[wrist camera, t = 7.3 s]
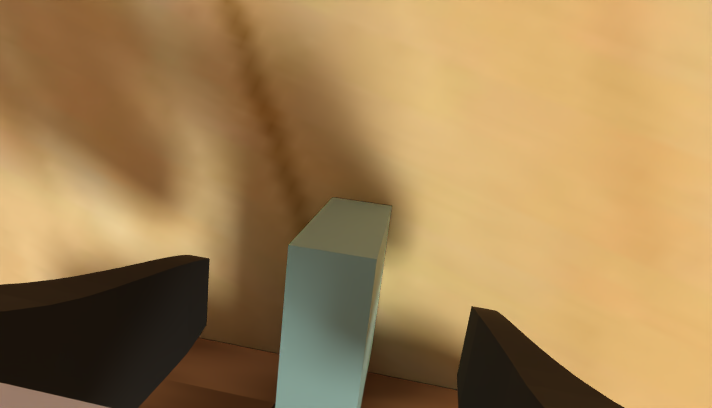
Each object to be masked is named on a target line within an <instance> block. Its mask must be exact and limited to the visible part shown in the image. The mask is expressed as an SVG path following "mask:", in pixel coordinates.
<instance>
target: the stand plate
mask: <svg viewBox="0 0 712 408" xmlns="http://www.w3.org/2000/svg"><path fill="white" fill-rule="evenodd" d="M279 355H280V354H276V353H271V352H266V351H261V350H256V349H251V348H246V347H241V346H236V345H231V344H226V343H221V342H216V341H211V340H207V339H202V338H198V339H197V340H196V342H195V343H194V345H193V346H192V347H191V349H190V350H189V352H188V353H187V354H186V355H185V357H184V358H183V359H182V360H181V361H180V362H179V363H178V365H177V366H176V367H175V368H174V369H173V370H172V371H171V372H170V373H169V375H168V376H167V377H166V378H165V379H164V380H163V381H162V382H161V383H160V384H159V386H158V387H157V388H156V389H155V390H154V391H153V392H152V393H151V394H150V395H149V396H148V398H147V399H146V400H145V401H144V402H143V403H142V404H141V405H140V406H139V407H138V408H275V405H276V393H277V380H278V368H279ZM361 408H458V390H453V389H448V388H443V387H438V386H433V385H428V384H423V383H419V382H414V381H409V380H404V379H399V378H394V377H389V376H384V375H379V374H374V373H369V372H367V377H366V382H365V387H364V392H363V397H362V404H361Z"/></svg>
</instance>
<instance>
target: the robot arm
mask: <svg viewBox="0 0 712 408" xmlns="http://www.w3.org/2000/svg"><path fill="white" fill-rule="evenodd" d="M208 279H209V258H203V257H198V256H192V255H180V256H173V257H167V258H162V259H157V260H153V261H148V262H144V263H139V264H134V265H130V266H125V267H121V268H116V269H111V270H106V271H101V272H96V273H90V274H85V275H80V276H74V277H68V278H61V279H55V280H46V281H38V282H30V283H19V284H4V285H0V408H138V407H139V406H140V405H141V404H142V403H143V402H144V401H145V400H146V399H147V398H148V396H149V395H150V394H151V393H152V392H153V391H154V390H155V389H156V388H157V387H158V386H159V384H160V383H161V382H162V381H163V380H164V379H165V378H166V377H167V376H168V375H169V373H170V372H171V371H172V370H173V369H174V368H175V367H176V366H177V365H178V363H179V362H180V361H181V360H182V359H183V358H184V357H185V355H186V354H187V353H188V352H189V350H190V349H191V347H192V346H193V345H194V343H195V342H196V340H197V339H198V337H199V336H200V334H201V332H202V331H203V329H204V328H205V326H206V321H207V300H208ZM457 387H458V408H624V407H622V406H621V405H619V404H617V403H615V402H614V401H612V400H611V399H609V398H607V397H606V396H604V395H603V394H601V393H600V392H598V391H597V390H595V389H594V388H592V387H591V386H589V385H588V384H586V383H585V382H583V381H582V380H580V379H579V378H577V377H576V376H575V375H573V374H572V373H571V372H569V371H568V370H567V369H565V368H564V367H563V366H562V365H560V364H559V363H558V362H556V361H555V360H554V359H552V358H551V357H550V356H549V355H548V354H546V353H545V352H544V351H543V350H542V349H540V348H539V347H538V346H537V345H536V344H535V343H533V342H532V341H531V340H530V339H529V338H528V337H527V336H525V335H524V334H523V333H522V332H521V331H520V330H519V329H518V328H516V327H515V326H514V325H513V324H512V323H511V322H510V321H509V320H507V319H506V318H505V317H504V316H503V315H501V314H500V313H499V312H497V311H495V310H489V309H484V308H478V307H473V306H472V307H471V312H470V317H469V321H468V326H467V331H466V336H465V340H464V345H463V350H462V355H461V359H460V364H459V369H458V374H457Z"/></svg>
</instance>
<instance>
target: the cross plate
mask: <svg viewBox="0 0 712 408" xmlns="http://www.w3.org/2000/svg"><path fill="white" fill-rule="evenodd" d="M391 209H392V206H389V205H382V204H376V203H369V202H362V201H355V200H348V199H341V198H335V197H332V198H331V199H330V200H329V202H328V203H327V204H326V205H325V206H324V207H323V208H322V209H321V210H320V211H319V212H318V213H317V214H316V216H315V217H314V218H313V219H312V220H311V221H310V222H309V223H308V224H307V225H306V226H305V227H304V229H303V230H302V231H301V232H300V233H299V234H298V235H297V236H296V237H295V238H294V239H293V240H292V241H291V243H290V244H289V245H288V256H287V268H286V281H285V293H284V305H283V318H282V330H281V343H280V355H279V368H278V380H277V393H276V405H275V408H361V404H362V397H363V392H364V387H365V382H366V377H367V372H368V367H369V362H370V357H371V351H372V345H373V338H374V330H375V323H376V316H377V309H378V302H379V295H380V287H381V280H382V273H383V266H384V259H385V252H386V244H387V237H388V230H389V223H390V216H391Z"/></svg>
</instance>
